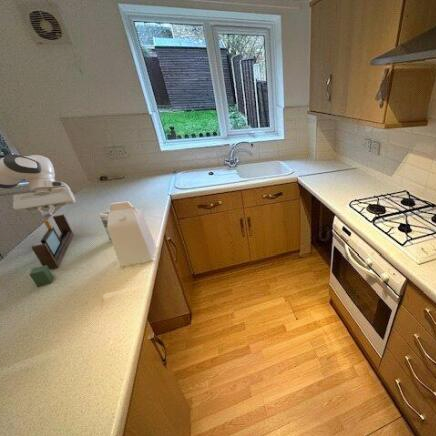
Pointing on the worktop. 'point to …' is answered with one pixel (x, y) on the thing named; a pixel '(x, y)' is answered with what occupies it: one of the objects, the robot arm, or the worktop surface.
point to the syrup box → (105, 221)
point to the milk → (130, 234)
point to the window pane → (51, 239)
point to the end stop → (41, 275)
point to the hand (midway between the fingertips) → (47, 215)
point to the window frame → (65, 237)
